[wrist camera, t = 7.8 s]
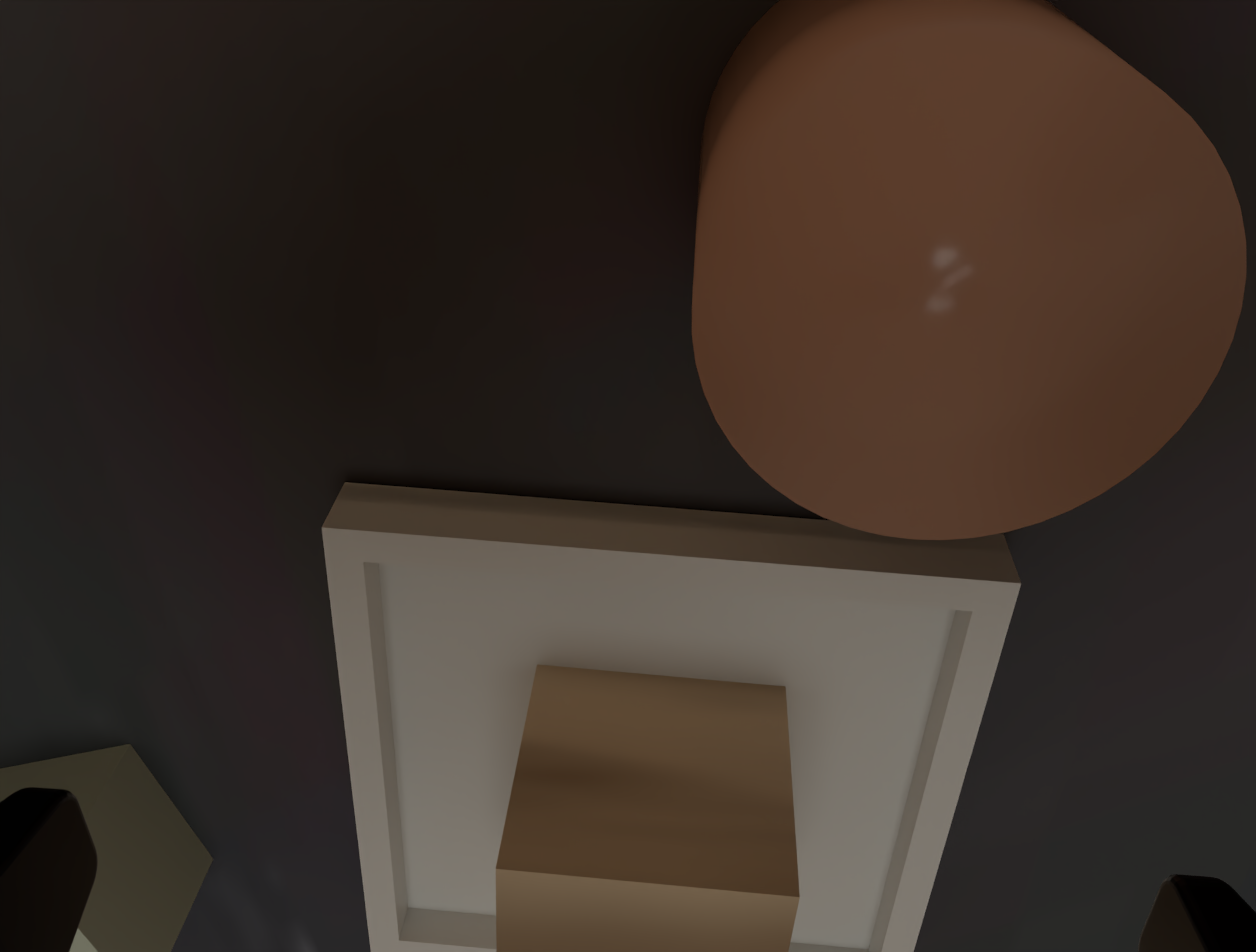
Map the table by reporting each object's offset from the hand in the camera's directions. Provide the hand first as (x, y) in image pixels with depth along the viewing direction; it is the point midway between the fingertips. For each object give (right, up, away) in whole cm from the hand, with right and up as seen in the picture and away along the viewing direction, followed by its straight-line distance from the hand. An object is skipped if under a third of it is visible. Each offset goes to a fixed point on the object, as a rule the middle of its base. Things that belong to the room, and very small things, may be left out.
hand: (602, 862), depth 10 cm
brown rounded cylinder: (+4, +8, +8) cm, 12 cm away
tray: (+1, -3, +15) cm, 16 cm away
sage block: (-12, -5, +18) cm, 22 cm away
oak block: (+1, -3, +15) cm, 15 cm away
